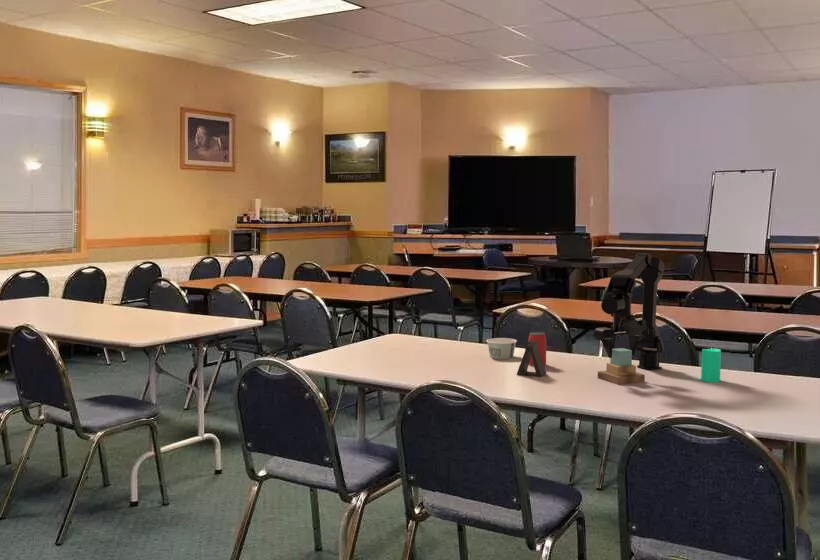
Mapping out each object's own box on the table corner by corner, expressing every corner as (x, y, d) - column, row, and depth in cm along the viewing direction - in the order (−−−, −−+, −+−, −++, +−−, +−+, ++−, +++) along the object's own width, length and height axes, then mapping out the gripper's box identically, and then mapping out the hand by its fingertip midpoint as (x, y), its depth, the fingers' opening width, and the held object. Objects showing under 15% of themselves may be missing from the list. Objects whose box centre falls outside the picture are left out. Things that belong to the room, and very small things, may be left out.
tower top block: (624, 370, 272) (624, 361, 271) (635, 374, 265) (636, 365, 265) (606, 371, 270) (606, 363, 269) (617, 375, 263) (617, 367, 263)
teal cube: (622, 362, 270) (622, 348, 270) (631, 365, 266) (631, 350, 265) (610, 363, 269) (610, 349, 268) (619, 366, 264) (619, 351, 264)
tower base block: (623, 377, 275) (623, 368, 275) (644, 383, 265) (644, 374, 264) (597, 380, 271) (597, 371, 270) (617, 386, 260) (617, 377, 260)
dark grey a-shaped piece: (546, 374, 278) (546, 340, 277) (541, 377, 272) (541, 343, 271) (522, 371, 282) (522, 338, 281) (516, 375, 276) (516, 341, 275)
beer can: (545, 366, 290) (546, 334, 289) (527, 366, 292) (528, 334, 291) (546, 363, 297) (546, 331, 296) (528, 362, 298) (528, 331, 297)
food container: (521, 355, 313) (521, 339, 313) (509, 360, 303) (509, 343, 302) (494, 353, 319) (494, 337, 319) (481, 357, 309) (481, 341, 308)
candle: (719, 379, 268) (720, 344, 267) (720, 382, 262) (721, 347, 261) (700, 377, 270) (701, 343, 269) (701, 381, 264) (702, 346, 263)
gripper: (614, 315, 254) (613, 363, 256) (660, 312, 262) (659, 358, 263) (593, 311, 265) (593, 357, 266) (638, 308, 272) (637, 353, 273)
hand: (621, 356), depth 267 cm, fingers open, 9 cm apart
